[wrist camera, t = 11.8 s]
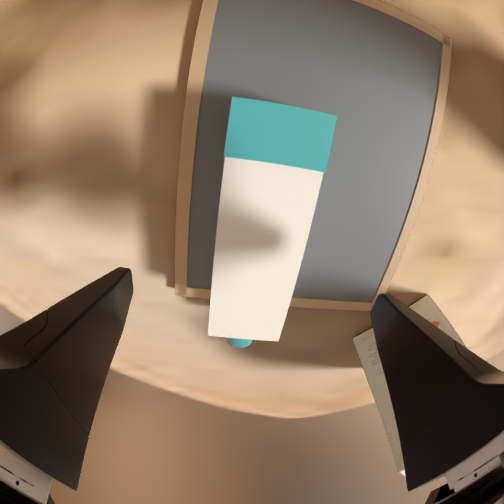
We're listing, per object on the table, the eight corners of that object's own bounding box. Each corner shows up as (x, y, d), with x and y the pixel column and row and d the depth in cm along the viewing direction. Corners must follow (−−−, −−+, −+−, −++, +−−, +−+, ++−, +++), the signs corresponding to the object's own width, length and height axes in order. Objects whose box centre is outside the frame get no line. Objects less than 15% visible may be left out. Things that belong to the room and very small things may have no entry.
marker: (312, 113, 13) (337, 116, 10) (267, 319, 20) (272, 363, 16) (234, 100, 13) (232, 96, 9) (210, 314, 19) (205, 358, 16)
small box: (368, 368, 25) (405, 479, 14) (350, 337, 22) (396, 474, 11) (435, 330, 23) (490, 431, 12) (429, 291, 20) (505, 409, 9)
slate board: (446, 40, 10) (452, 39, 10) (373, 305, 21) (376, 311, 20) (213, -30, 9) (212, -36, 8) (176, 289, 19) (175, 295, 18)
